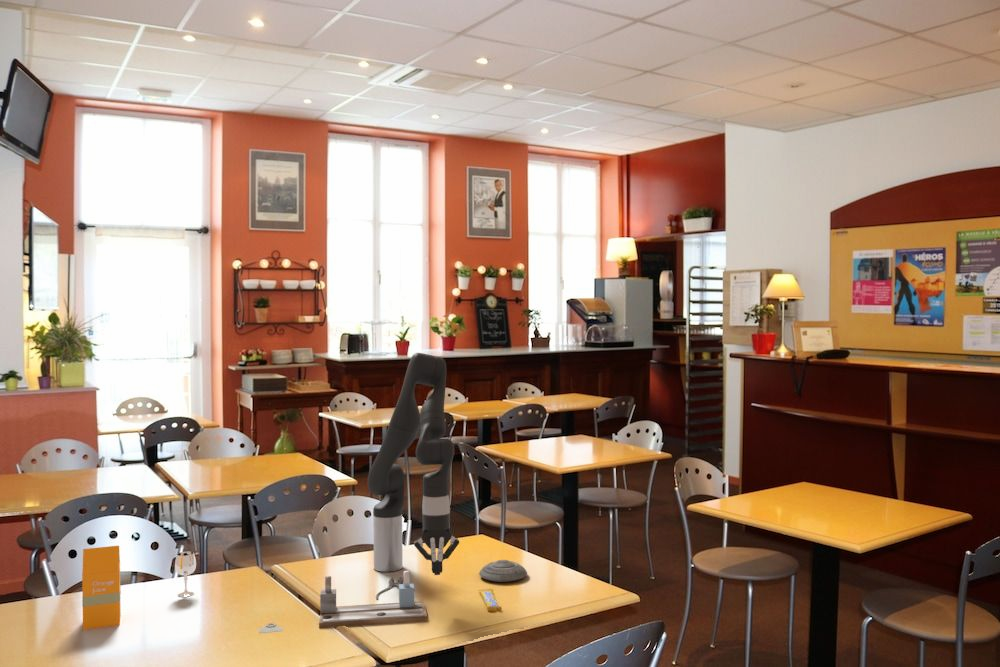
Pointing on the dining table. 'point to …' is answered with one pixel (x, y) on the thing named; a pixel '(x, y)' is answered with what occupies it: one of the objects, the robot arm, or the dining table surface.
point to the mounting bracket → (270, 628)
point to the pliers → (391, 586)
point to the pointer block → (406, 592)
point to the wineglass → (185, 568)
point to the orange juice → (101, 587)
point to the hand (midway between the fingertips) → (437, 574)
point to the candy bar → (489, 600)
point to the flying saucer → (503, 571)
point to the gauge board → (365, 611)
